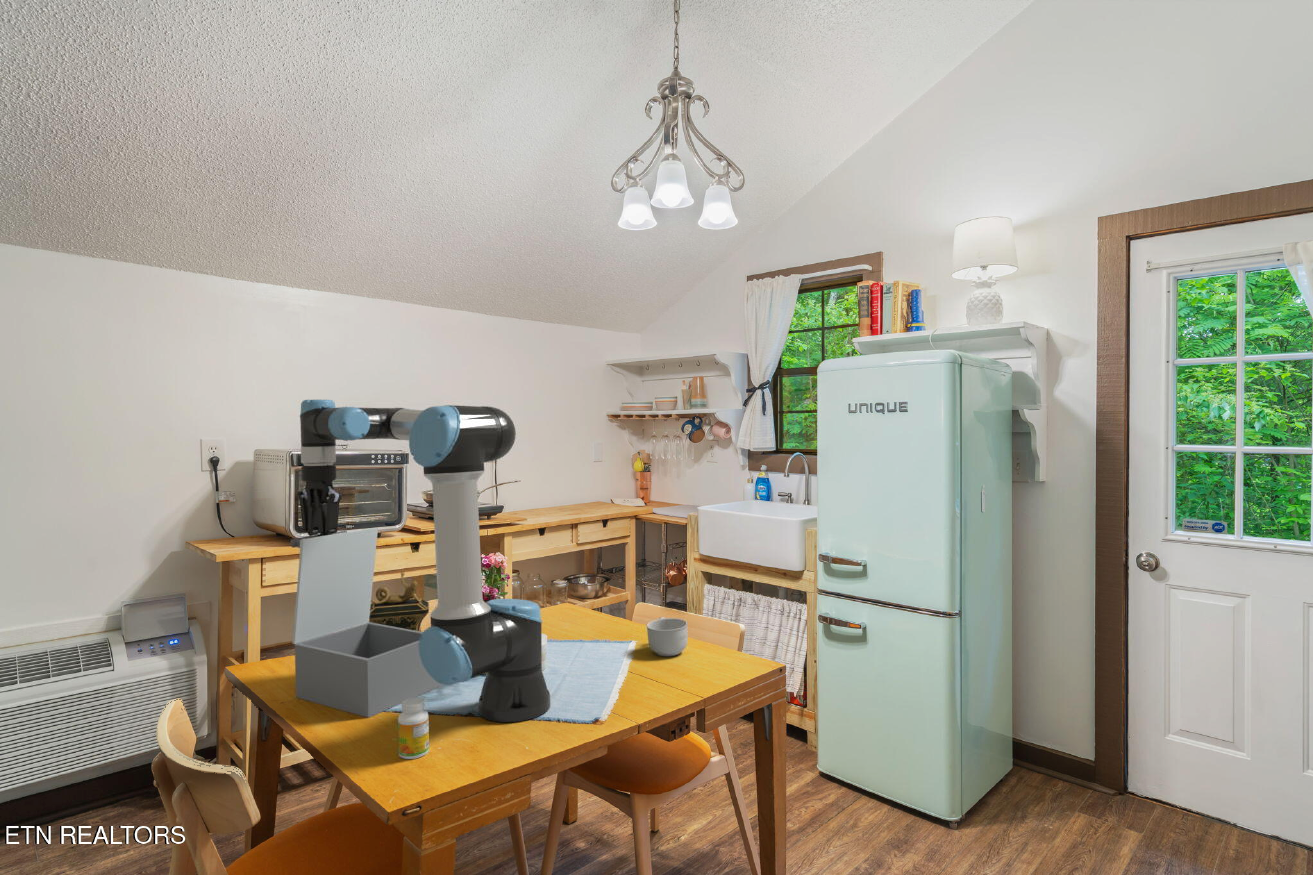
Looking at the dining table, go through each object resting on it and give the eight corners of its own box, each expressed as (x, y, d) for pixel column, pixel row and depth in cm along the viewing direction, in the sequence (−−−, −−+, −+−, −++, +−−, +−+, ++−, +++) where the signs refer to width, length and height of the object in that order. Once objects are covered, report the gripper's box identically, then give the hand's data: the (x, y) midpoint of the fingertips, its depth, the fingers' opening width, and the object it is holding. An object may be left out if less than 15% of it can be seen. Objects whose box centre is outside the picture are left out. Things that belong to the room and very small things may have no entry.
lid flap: (377, 528, 175) (354, 520, 180) (303, 540, 158) (278, 531, 162) (368, 621, 178) (345, 612, 182) (294, 644, 160) (270, 632, 164)
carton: (440, 686, 166) (439, 635, 166) (368, 717, 149) (367, 660, 149) (370, 669, 178) (369, 622, 178) (295, 697, 160) (294, 644, 160)
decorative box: (429, 636, 206) (428, 568, 206) (429, 646, 197) (428, 574, 197) (354, 643, 200) (353, 573, 200) (350, 653, 191) (349, 580, 191)
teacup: (688, 659, 184) (688, 628, 183) (646, 659, 184) (646, 628, 184) (686, 642, 197) (686, 614, 197) (647, 642, 198) (647, 614, 197)
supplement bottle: (393, 753, 133) (392, 701, 132) (420, 743, 136) (419, 693, 136) (406, 762, 129) (405, 709, 129) (434, 752, 133) (433, 701, 132)
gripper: (353, 464, 170) (354, 562, 170) (312, 462, 177) (314, 557, 178) (325, 466, 163) (327, 568, 164) (284, 464, 171) (286, 562, 171)
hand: (320, 562), depth 171 cm, fingers closed on lid flap, 2 cm apart
